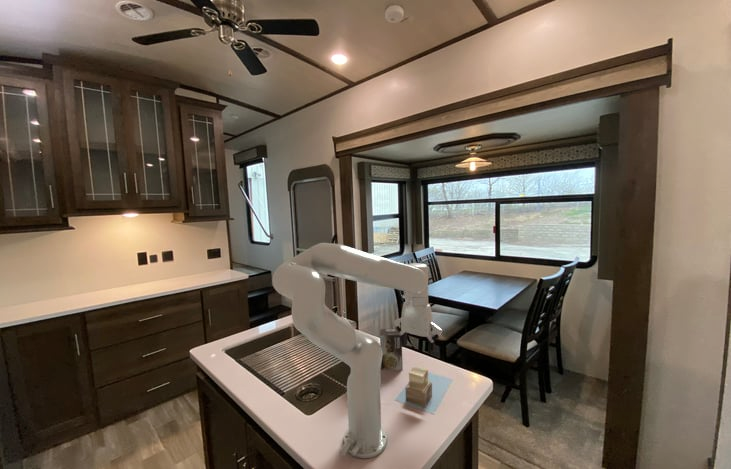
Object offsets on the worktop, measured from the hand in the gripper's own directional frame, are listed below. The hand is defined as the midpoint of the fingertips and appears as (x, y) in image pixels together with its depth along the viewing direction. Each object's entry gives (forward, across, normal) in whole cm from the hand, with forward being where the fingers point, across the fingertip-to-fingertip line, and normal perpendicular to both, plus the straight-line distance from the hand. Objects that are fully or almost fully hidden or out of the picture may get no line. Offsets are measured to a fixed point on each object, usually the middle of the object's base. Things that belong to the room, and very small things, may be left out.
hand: (417, 348), depth 98 cm
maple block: (+13, 0, +1) cm, 13 cm away
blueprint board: (+19, 0, +7) cm, 20 cm away
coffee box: (+19, -18, +15) cm, 30 cm away
